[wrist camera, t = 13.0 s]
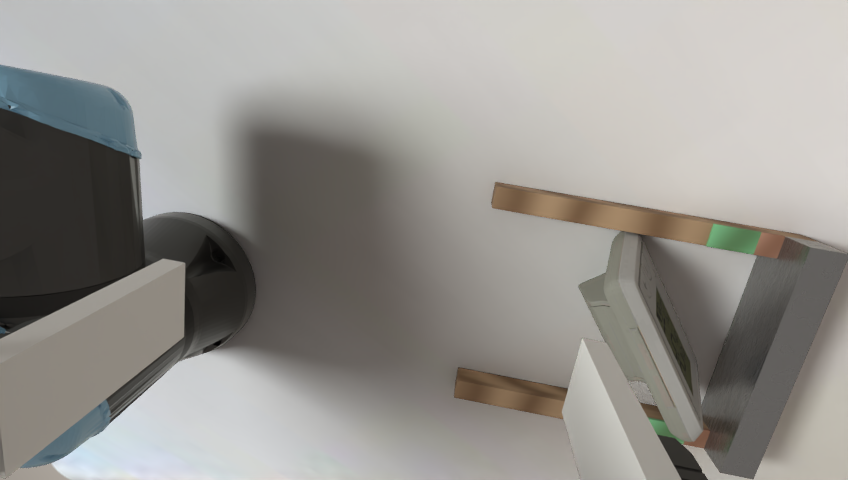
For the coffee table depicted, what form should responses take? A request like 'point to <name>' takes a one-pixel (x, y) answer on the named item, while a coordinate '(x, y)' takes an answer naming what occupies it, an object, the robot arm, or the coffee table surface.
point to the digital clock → (646, 333)
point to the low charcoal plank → (767, 351)
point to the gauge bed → (618, 218)
